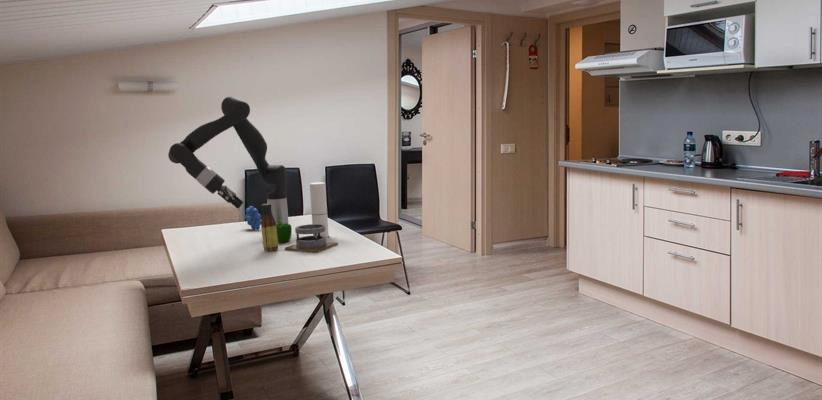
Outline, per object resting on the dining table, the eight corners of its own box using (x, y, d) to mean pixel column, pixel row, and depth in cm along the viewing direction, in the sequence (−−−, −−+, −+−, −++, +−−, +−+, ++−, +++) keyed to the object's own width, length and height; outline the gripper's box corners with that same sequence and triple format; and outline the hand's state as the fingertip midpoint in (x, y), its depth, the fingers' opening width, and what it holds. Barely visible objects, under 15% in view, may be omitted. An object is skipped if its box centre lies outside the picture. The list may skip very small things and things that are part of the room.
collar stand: (284, 250, 269) (283, 229, 268) (308, 242, 283) (307, 222, 281) (315, 252, 261) (313, 231, 260) (337, 244, 275) (336, 224, 274)
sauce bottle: (281, 248, 272) (278, 202, 269) (273, 252, 266) (270, 205, 263) (268, 248, 274) (264, 202, 271) (260, 251, 268) (256, 205, 265)
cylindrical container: (330, 234, 298) (326, 182, 295) (326, 237, 291) (323, 183, 288) (315, 235, 299) (311, 182, 296) (311, 238, 292) (307, 184, 289)
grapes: (240, 229, 322) (238, 206, 320) (251, 227, 327) (249, 204, 326) (254, 231, 315) (252, 208, 313) (265, 229, 320) (263, 206, 318)
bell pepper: (294, 241, 286) (293, 219, 284) (277, 244, 282) (275, 222, 280) (288, 239, 293) (286, 217, 291) (271, 241, 289) (269, 219, 287)
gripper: (213, 174, 255) (245, 201, 259) (218, 171, 269) (248, 196, 273) (201, 188, 255) (233, 214, 258) (206, 184, 269) (236, 209, 272)
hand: (240, 205), depth 265 cm, fingers open, 8 cm apart
